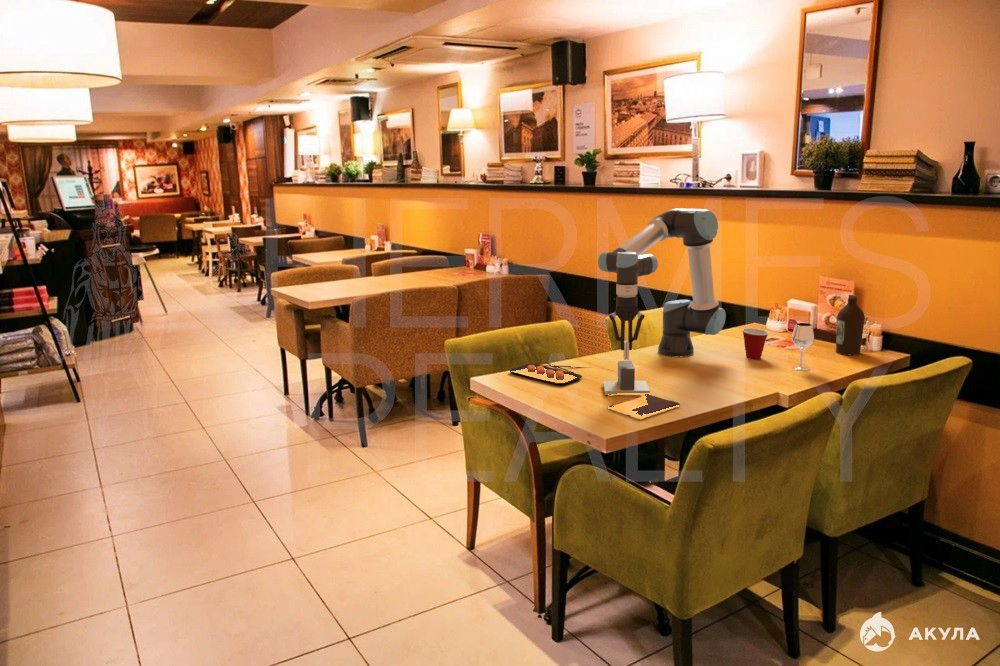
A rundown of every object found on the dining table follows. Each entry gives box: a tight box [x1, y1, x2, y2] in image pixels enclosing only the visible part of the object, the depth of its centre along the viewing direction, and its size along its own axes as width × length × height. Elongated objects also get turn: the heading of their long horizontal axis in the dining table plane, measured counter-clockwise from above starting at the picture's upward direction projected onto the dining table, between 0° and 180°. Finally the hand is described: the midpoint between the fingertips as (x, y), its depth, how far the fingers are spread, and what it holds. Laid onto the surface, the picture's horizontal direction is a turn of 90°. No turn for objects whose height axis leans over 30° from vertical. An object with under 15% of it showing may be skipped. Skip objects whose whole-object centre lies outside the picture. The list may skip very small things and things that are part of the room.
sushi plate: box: [509, 362, 583, 385], centre depth 291 cm, size 29×30×4 cm
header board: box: [602, 380, 651, 396], centre depth 264 cm, size 12×16×6 cm
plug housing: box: [617, 360, 636, 390], centre depth 264 cm, size 11×5×8 cm, turn 176°
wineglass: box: [791, 322, 815, 371], centre depth 284 cm, size 8×8×18 cm
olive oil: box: [835, 294, 866, 356], centre depth 303 cm, size 11×11×25 cm
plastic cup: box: [741, 327, 770, 361], centre depth 301 cm, size 11×11×12 cm
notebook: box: [609, 394, 680, 416], centre depth 246 cm, size 15×20×2 cm
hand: (626, 358), depth 262 cm, fingers closed
